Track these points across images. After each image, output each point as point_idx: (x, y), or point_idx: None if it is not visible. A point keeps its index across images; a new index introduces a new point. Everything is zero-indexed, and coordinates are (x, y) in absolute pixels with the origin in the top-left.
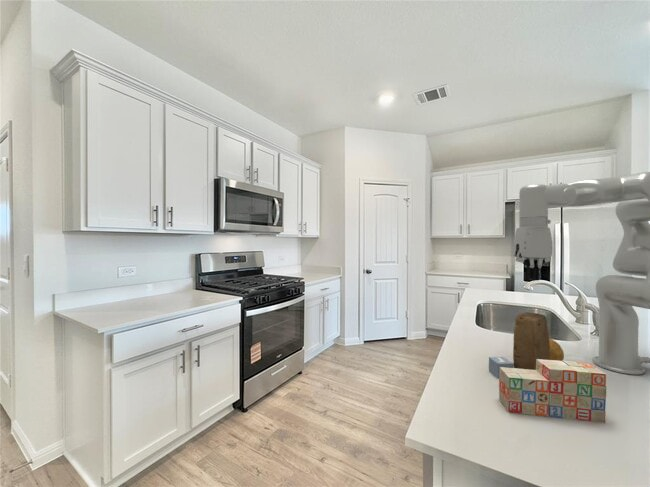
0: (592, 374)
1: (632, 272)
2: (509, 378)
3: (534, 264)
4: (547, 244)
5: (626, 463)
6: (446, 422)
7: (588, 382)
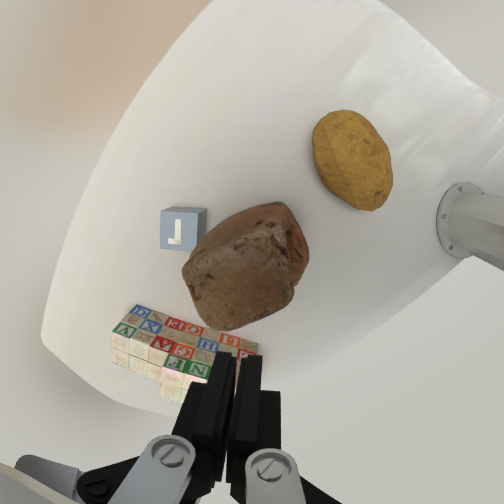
0: None
1: None
2: (112, 361)
3: (245, 494)
4: None
5: None
6: (64, 331)
7: None
